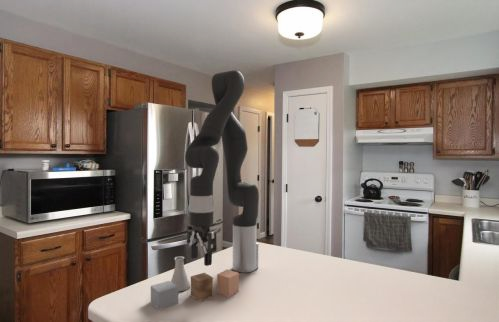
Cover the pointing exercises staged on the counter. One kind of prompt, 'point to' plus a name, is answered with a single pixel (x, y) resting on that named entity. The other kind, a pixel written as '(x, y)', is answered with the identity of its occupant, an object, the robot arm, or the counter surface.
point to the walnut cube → (201, 286)
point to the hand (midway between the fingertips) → (200, 261)
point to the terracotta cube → (227, 283)
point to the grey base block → (164, 294)
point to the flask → (180, 275)
